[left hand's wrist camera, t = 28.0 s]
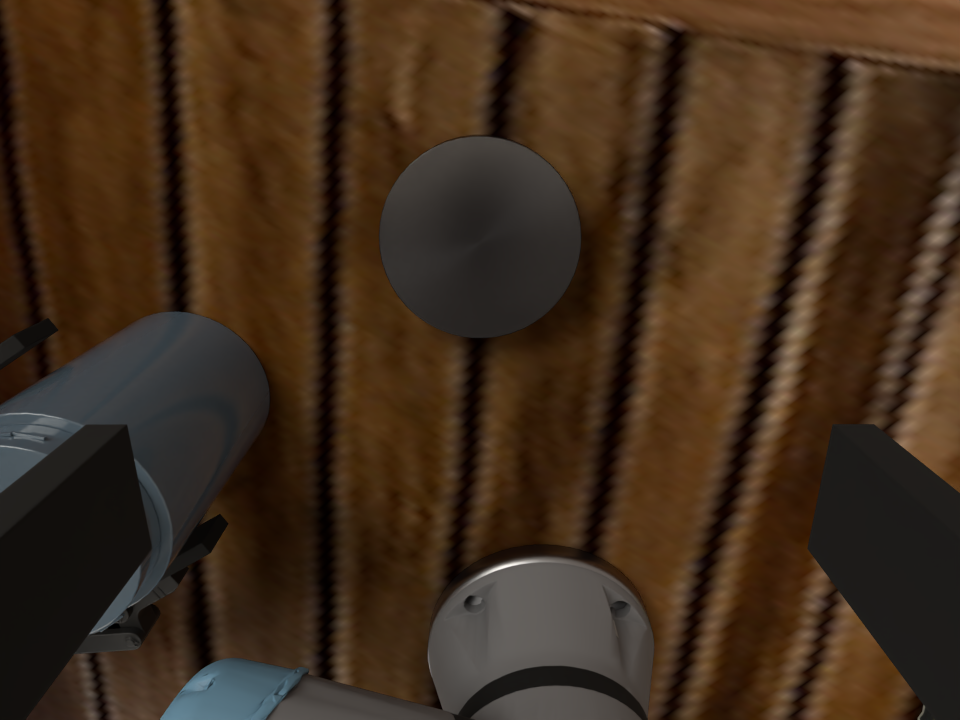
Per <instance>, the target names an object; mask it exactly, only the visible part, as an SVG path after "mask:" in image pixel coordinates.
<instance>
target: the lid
mask: <svg viewBox="0 0 960 720" xmlns="http://www.w3.org/2000/svg"><path fill="white" fill-rule="evenodd" d="M379 244H380V253H381V258H382V263H383V266H384V269H385V272H386V275H387V277H388V279H389V281H390V283H391V286H392V287H393V289H394V290H395V292H396V294H397V295H398V297H399V298H400V299H401V300H402V301H403V303H404V304H405V305H406V306H407V307H408V308H409V309H410V310H411V311H412V312H413V313H414V314H415V315H416V316H418V317H419V318H421V319H422V320H423V321H425V322H426V323H428V324H430V325H432V326H433V327H435V328H437V329H440V330H442V331H445V332H447V333H450V334H454V335H458V336H462V337H470V338H490V337H498V336H502V335H506V334H510V333H513V332H516V331H518V330H521V329H523V328H525V327H527V326H529V325H531V324H532V323H534V322H536V321H537V320H538V319H540V318H541V317H543V316H544V315H545V314H546V313H547V312H548V311H549V310H550V309H552V308H553V307H554V305H555V304H556V303H557V302H558V301H559V300H560V298H561V297H562V296H563V294H564V293H565V291H566V289H567V288H568V286H569V284H570V282H571V280H572V278H573V276H574V273H575V270H576V267H577V264H578V260H579V255H580V250H581V225H580V219H579V214H578V210H577V207H576V204H575V201H574V198H573V196H572V194H571V192H570V190H569V188H568V186H567V184H566V183H565V182H564V180H563V179H562V177H561V176H560V174H559V173H558V172H557V171H556V170H555V169H554V168H553V167H552V166H551V165H550V163H548V162H547V161H546V160H545V159H543V158H542V157H541V156H540V155H539V154H537V153H536V152H534V151H533V150H531V149H529V148H528V147H526V146H525V145H522V144H520V143H518V142H515V141H513V140H510V139H506V138H503V137H499V136H491V135H469V136H462V137H458V138H454V139H450V140H447V141H445V142H443V143H440V144H438V145H436V146H434V147H433V148H431V149H429V150H428V151H426V152H424V153H423V154H422V155H421V156H419V157H418V158H417V159H416V160H415V161H413V162H412V163H411V164H410V165H409V166H408V167H407V168H406V169H405V170H404V171H403V173H402V174H401V175H400V176H399V178H398V179H397V181H396V182H395V184H394V185H393V187H392V189H391V191H390V193H389V195H388V197H387V199H386V202H385V205H384V208H383V211H382V216H381V221H380V230H379Z"/></svg>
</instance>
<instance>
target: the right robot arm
mask: <svg viewBox="0 0 960 720" xmlns="http://www.w3.org/2000/svg"><path fill="white" fill-rule="evenodd" d="M57 331H58V329H57V328H56V327H55V325H54V324H53V323H52V322H51V321H50V320H49V319H48V318H47V319H45V320H43V321H41V322H39V323H37V324H35V325H33V326H31V327H29V328H27V329H25V330H23V331H21V332H18V333H16V334H14V335H13V336H11V337H10V338H8V339H7V340H5V341H4V342H2V343H1V344H0V370H1V369H2V368H3V367H5V366H6V365H8V364H9V363H11V362H12V361H14V360H15V359H17V358H18V357H20V356H21V355H23V354H24V353H26V352H27V351H29V350H30V349H31V348H33V347H34V346H36V345H37V344H39V343H40V342H42V341H43V340H45V339H46V338H48V337H49V336H51V335H52V334H54V333H55V332H57ZM227 525H228V523H227V521H226V520H225V519H224V518H223V517H222V516H221V515H220V514H219V515H217V516H216V517H214V518H212V519H210V520H209V521H207V522H205V523H203V524H202V525H200V526H198V527H196V528H195V530H194V531H193V533H192V534H191V536H190V537H189V539H188V540H187V542H186V543H185V545H184V546H183V548H182V549H181V550H180V552H179V553H178V555H177V556H176V558H175V559H174V561H173V562H172V564H171V565H170V567H169V568H168V570H167V571H166V573H165V574H164V576H163V577H162V579H161V580H160V581H159V583H158V584H157V586H156V587H155V588H154V589H153V590H152V591H151V592H150V593H149V594H148V595H147V596H145V597H144V598H143V599H141V600H140V601H139V602H137V603H135V604H134V605H132V606H130V607H128V608H127V609H126V610H125V611H124V612H123V613H124V614H125V615H124V617H122V618H121V619H120V620H118V621H117V622H115V623H114V624H112V625H111V626H109V627H108V628H106V629H105V630H103V631H102V632H100V631H99V632H96V633H93V634H90V635H88V636H87V637H86V639H85V640H84V641H83V643H82V644H81V645H80V647H79V648H78V649H77V651H76V652H75V653H74V654H81V653H95V652H109V651H124V650H135V649H138V648H139V647H140V646H141V645H142V643H143V641H144V640H145V638H146V637H147V635H148V633H149V632H150V630H151V629H152V627H153V626H154V624H155V622H156V621H157V619H158V618H159V616H160V610H159V608H158V607H156V606H155V605H153V604H152V603H154V602H156V601H157V600H159V599H160V598H163V597H165V596H166V595H168V594H170V593H172V592H173V591H175V589H176V588H177V586H178V585H179V583H180V582H181V580H182V579H183V577H184V576H185V574H186V572H187V571H188V569H189V568H188V567H187V566H188V565H190V564H192V563H194V562H195V561H197V560H199V559H201V558H202V557H204V556H206V555H208V554H210V553H211V551H212V550H213V548H214V546H215V545H216V543H217V542H218V540H219V538H220V537H221V535H222V533H223V532H224V530H225V528H226V527H227Z"/></svg>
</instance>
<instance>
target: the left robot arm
mask: <svg viewBox="0 0 960 720" xmlns="http://www.w3.org/2000/svg"><path fill="white" fill-rule="evenodd" d="M151 550H152V544H151V539H150V534H149V529H148V524H147V519H146V515H145V510H144V505H143V500H142V495H141V490H140V485H139V480H138V475H137V470H136V465H135V460H134V456H133V451H132V446H131V441H130V436H129V431H128V426H127V424H86V425H85V426H83V427H82V428H81V429H80V430H78V431H77V432H76V433H75V434H73V435H72V436H71V437H70V438H68V439H67V440H66V441H65V442H63V443H62V444H61V445H60V446H58V447H57V448H56V449H55V450H54V451H52V452H51V453H50V454H49V455H47V456H46V457H45V458H44V459H42V460H41V461H40V462H39V463H37V464H36V465H35V466H34V467H32V468H31V469H30V470H29V471H27V472H26V473H25V474H24V475H22V476H21V477H20V478H19V479H17V480H16V481H15V482H14V483H12V484H11V485H10V486H9V487H7V488H6V489H5V490H4V491H2V492H1V493H0V720H25V719H26V718H27V717H28V715H29V714H30V713H31V711H32V710H33V709H34V707H35V706H36V705H37V703H38V702H39V701H40V699H41V698H42V696H43V695H44V694H45V692H46V691H47V690H48V688H49V687H50V686H51V684H52V683H53V682H54V680H55V679H56V678H57V676H58V675H59V674H60V672H61V671H62V670H63V668H64V667H65V666H66V664H67V663H68V662H69V660H70V659H71V658H72V656H73V655H74V653H75V652H76V651H77V649H78V648H79V647H80V645H81V644H82V643H83V641H84V640H85V639H86V637H87V636H88V635H89V633H90V632H91V631H92V629H93V628H94V627H95V625H96V624H97V623H98V621H99V620H100V619H101V617H102V616H103V615H104V613H105V612H106V610H107V609H108V608H109V606H110V605H111V604H112V602H113V601H114V600H115V598H116V597H117V596H118V594H119V593H120V592H121V590H122V589H123V588H124V586H125V585H126V584H127V582H128V581H129V580H130V578H131V577H132V576H133V574H134V573H135V572H136V570H137V569H138V567H139V566H140V565H141V563H142V562H143V561H144V559H145V558H146V557H147V555H148V554H149V553H150V551H151ZM808 550H809V551H810V553H811V554H812V555H813V557H814V558H815V559H816V561H817V562H818V563H819V565H820V566H821V567H822V569H823V570H824V572H825V573H826V574H827V576H828V577H829V578H830V580H831V581H832V582H833V584H834V585H835V586H836V588H837V589H838V590H839V592H840V593H841V594H842V596H843V597H844V598H845V600H846V601H847V602H848V604H849V605H850V606H851V608H852V609H853V610H854V612H855V613H856V615H857V616H858V617H859V619H860V620H861V621H862V623H863V624H864V625H865V627H866V628H867V629H868V631H869V632H870V633H871V635H872V636H873V637H874V639H875V640H876V641H877V643H878V644H879V645H880V647H881V648H882V649H883V651H884V652H885V653H886V655H887V656H888V658H889V659H890V660H891V662H892V663H893V664H894V666H895V667H896V668H897V670H898V671H899V672H900V674H901V675H902V676H903V678H904V679H905V680H906V682H907V683H908V684H909V686H910V687H911V688H912V690H913V691H914V692H915V694H916V695H917V696H918V698H919V699H920V701H921V702H922V703H923V705H924V706H925V707H926V709H927V710H928V711H929V713H930V714H931V715H932V717H933V718H934V719H935V720H960V493H959V492H958V491H956V490H955V489H954V488H953V487H951V486H950V485H949V484H948V483H946V482H945V481H944V480H943V479H941V478H940V477H939V476H938V475H936V474H935V473H934V472H933V471H931V470H930V469H929V468H928V467H926V466H925V465H924V464H923V463H921V462H920V461H919V460H918V459H916V458H915V457H914V456H913V455H911V454H910V453H909V452H908V451H906V450H905V449H904V448H903V447H902V446H900V445H899V444H898V443H897V442H895V441H894V440H893V439H892V438H890V437H889V436H888V435H887V434H885V433H884V432H883V431H882V430H880V429H879V428H878V427H877V426H875V425H874V424H833V426H832V431H831V436H830V441H829V446H828V451H827V456H826V460H825V465H824V470H823V475H822V480H821V485H820V490H819V495H818V500H817V505H816V510H815V515H814V519H813V524H812V529H811V534H810V539H809V544H808ZM653 656H654V638H653V632H652V629H651V625H650V622H649V619H648V616H647V613H646V610H645V607H644V604H643V602H642V599H641V597H640V595H639V594H638V592H637V590H636V589H635V587H634V586H633V585H632V583H631V582H630V581H629V580H628V579H627V578H626V577H625V575H623V574H622V573H621V572H620V571H619V570H618V569H616V568H615V567H614V566H612V565H611V564H609V563H608V562H606V561H604V560H603V559H601V558H599V557H597V556H594V555H592V554H590V553H587V552H584V551H581V550H578V549H574V548H570V547H564V546H557V545H527V546H520V547H514V548H510V549H506V550H502V551H500V552H497V553H494V554H491V555H489V556H487V557H485V558H482V559H481V560H479V561H477V562H475V563H473V564H472V565H470V566H469V567H468V568H466V569H465V570H463V571H462V572H461V573H460V574H459V575H457V576H456V577H455V578H454V579H453V580H452V582H451V583H450V584H449V585H448V586H447V587H446V589H445V590H444V591H443V593H442V595H441V596H440V598H439V600H438V602H437V604H436V606H435V608H434V611H433V614H432V618H431V623H430V632H429V642H428V662H429V668H430V672H431V675H432V678H433V681H434V684H435V687H436V690H437V693H438V696H439V699H440V702H441V705H442V709H443V710H440V709H437V708H433V707H429V706H425V705H421V704H418V703H414V702H410V701H406V700H403V699H399V698H395V697H391V696H387V695H384V694H380V693H376V692H372V691H369V690H365V689H361V688H357V687H353V686H350V685H346V684H342V683H338V682H335V681H331V680H327V679H323V678H319V677H316V676H312V675H308V672H309V669H307V668H304V667H299V668H297V669H295V670H294V669H289V668H284V667H279V666H275V665H270V664H265V663H260V662H255V661H251V660H246V659H241V658H228V659H222V660H219V661H216V662H214V663H212V664H210V665H208V666H206V667H205V668H203V669H202V670H201V671H199V672H198V673H197V674H196V675H195V676H194V677H193V678H192V679H191V680H190V681H189V682H188V683H187V684H186V685H185V686H184V687H183V689H182V690H181V691H180V692H179V694H178V695H177V696H176V698H175V699H174V700H173V702H172V703H171V704H170V706H169V707H168V709H167V710H166V711H165V713H164V714H163V716H162V717H161V719H160V720H648V718H647V717H648V707H649V697H650V687H651V676H652V666H653Z"/></svg>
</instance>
